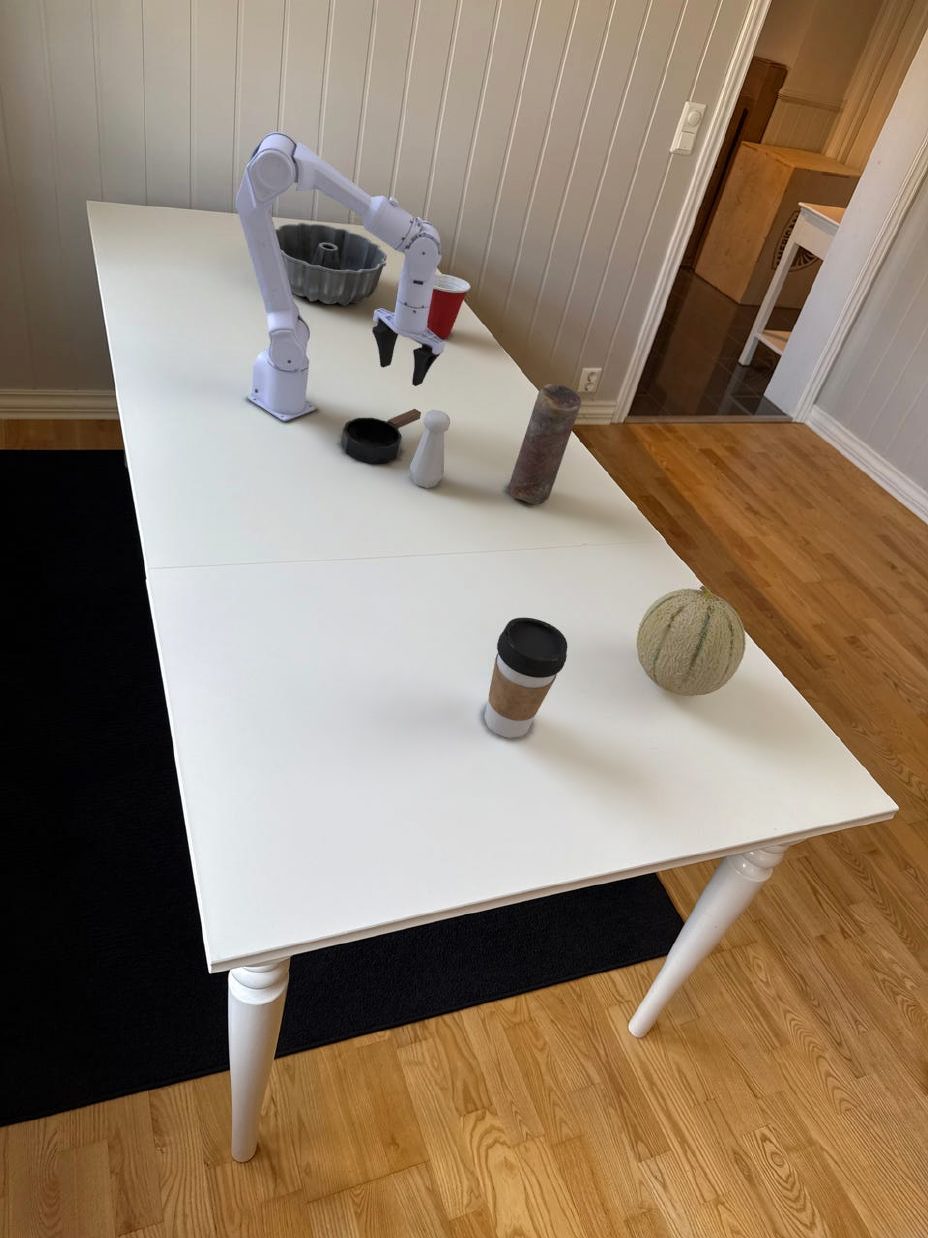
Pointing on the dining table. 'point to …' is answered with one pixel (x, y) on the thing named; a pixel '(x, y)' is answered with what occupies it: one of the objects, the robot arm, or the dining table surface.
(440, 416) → the salt shaker
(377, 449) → the pan
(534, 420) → the candle
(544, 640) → the coffee cup
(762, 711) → the dining table surface
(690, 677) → the cantaloupe
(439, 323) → the plastic cup
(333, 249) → the bundt pan
